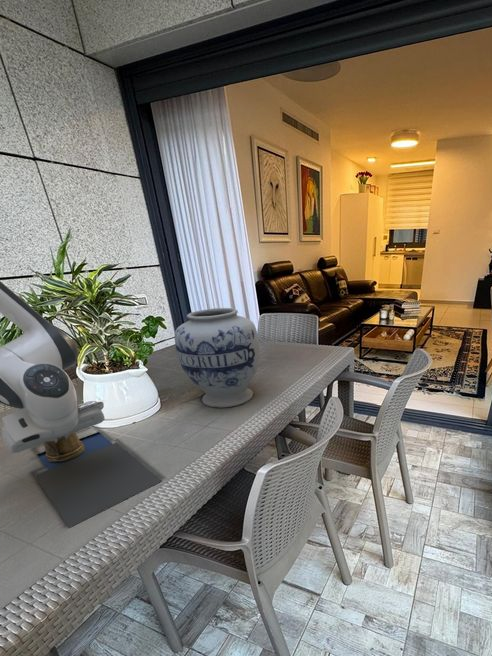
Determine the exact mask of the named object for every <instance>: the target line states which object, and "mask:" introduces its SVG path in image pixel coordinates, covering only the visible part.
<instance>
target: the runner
mask: <svg viewBox="0 0 492 656" xmlns="http://www.w3.org/2000/svg"><path fill="white" fill-rule="evenodd" d="M33 476H34V477H35V479H36V481H37V482H38V484H39V485H40V487H41V488H42V490H43V492H44V494H45V495H46V497H48V500H50V502H51V504H52V505H53V507H54V508H55V511H57V513H58V514H59V517H60V518H61V519H62V520H63V522H64V524H65V525H66V527H67V528H68V529H71V528H72V527H74V526H76V525H78V524H81V523H82V522H84V521H86V520H88V519H90V518H92V517H95V516H96V515H98V514H100V513H102V512H104V511H106V510H108V509H110V508H112V507H114V506H116V505H118V504H120V503H122V502H124V501H126V500H128V499H130V498H132V497H134V496H137V495H138V494H140V493H142V492H144V491H146V490H148V489H150V488H152V487H154V486H156V485H158V484H160V483H162V482H163V480H162V479H161V478H160V477H158V476H157V475H156V474H155V473H154V472H153V471H151V469H149V468H148V467H147V466H146V465H144V464H143V463H142V462H141V461H139V460H138V459H137V458H136V457H135V456H133V455H132V454H131V453H130V452H129V451H127V450H126V449H125V448H124V447H122V445H120V444H119V443H118V442H114V443H113V444H111V445H109V446H106V447H104V448H101V449H99V450H96V451H93V452H91V453H88V454H86V455H83V456H81V457H78V458H76V459H73V460H71V461H68V462H66V463H63V464H61V465H58V466H55V467H53V468H50V469H46V470H43V471H40V472H38V473H35V474H33Z"/></svg>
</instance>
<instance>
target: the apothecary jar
mask: <svg viewBox="0 0 492 656" xmlns="http://www.w3.org/2000/svg"><path fill="white" fill-rule="evenodd" d="M186 317H187V318H188V321H186V322H183V323H182V324H180V325H179V326H178V327H177V328H176V329H175V330H174V345H175V351H176V354H177V358H178V361H179V364H180V366H181V368H182V371H183V372H184V373H185V374H186V376H187V377H188V378H189V379H190V381H191V382H192V383H194V385H195V386H196V387H198V388H199V389H200V390H202V391H203V392H204V393H205V394H203V396H202V399H201V401H202V403H203V404H204V405H205V406H206V407H209V408H217V409H219V408H221V409H222V408H231V407H237V406H240V405H241V406H242V405H243V404H246V403H247V402H249V401H250V400H251V399H252V398H253V395H254V392H253V390H252V389H251V388H248V387H249V385H250V383H251V382H252V380H253V379H254V377H255V375H256V373H257V371H258V368H259V364H260V360H261V359H260V357H261V353H260V351H261V349H260V348H261V347H260V340H259V335H258V331H257V328H256V325H255V323H254V322H253V321H252V320H251V319H249V318H247V317H245V316H241V315H238V309H236V308H232V307H213V308H207V309H202V310H201V309H200V310H195V311H192V312H189V313H188V314H187V315H186Z"/></svg>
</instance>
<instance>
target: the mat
mask: <svg viewBox="0 0 492 656" xmlns="http://www.w3.org/2000/svg"><path fill="white" fill-rule="evenodd" d="M79 440H80V441H81V442H82V443H83V445H84V447H85V450H84V452H83V453H82V454H80V455H79V456H78V457H81V456H83V455H86V454H88V453H91V452H93V451H96V450H99V449H101V448H104V447H106V446H109V445H111V444H114V443H113V442H112V441H110V440H109V439H108V438H107V437H106V436H105V435H103V434H102V433H101V431H97V432H94V433H91V434H88V435H86V436H83V437H80V438H79ZM36 456H37V457H38V458H39V460H40V461H41V463H42V464H43V465H44V466H45V468H46V470H48V469H50V468H53V467H55V466H58V465H61V464H63V463H66V462H68V461H71V460H73V459H76V458H78V457H76V458H73V459H71V460H68V461H64V462H49V461H48V460H47V457H46V450H45V451H42V452H40V453H37V454H36Z"/></svg>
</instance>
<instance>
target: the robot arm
mask: <svg viewBox="0 0 492 656" xmlns="http://www.w3.org/2000/svg"><path fill="white" fill-rule="evenodd" d="M0 314H1V315H2V316H4V318H6V319H7V320H9V321H10V322H11V323H12V324H14V325H15V326H16V327H17V328H19V329H20V330H21V331H22V334H21V335H20V336H18V337H16V338H15V339H14V338H13V339H12V340H11V341H9V342H7V343H5V344H3V345H1V346H0V404H2V405H5V406H6V407H11V408H14V409H17V410H16V411H13V412H11V413H9V414H7V415H5V416H4V415H3V417H2V418H1V420H2V423H3V427H2V428H1V437H2V440H3V443H4V444H5V446H6V448H7V449H8V451H9V453H11V454H17V453H21V452H23V451H26V450H28V449H32V448H35V447H37V446H41V445H42V444H43V445H44V443H46V442H49V441H54V442H55V443H57V442H60V441H63V440H66V439H68V436H69V435H70V434H71V433H74V432H75V433H76V432H80V431H82V430H85V429H87V428H88V429H89V428H91V427H94V426H96V425H99V424H101V423H103V422H104V421H105V420H106V419H105V415H104V412H103V411H102V410H103V409H104V407H105V406H104V405H105V404H104V402H103V401H97V400H90V401H86V402H83V403H79V404H77V403H78V398H77V390H76V388H75V385H74V383H73V381H72V379H71V378H70V376H69V375H68V373H67V372H66V371H67V370H69V369H71V368H72V367H74V366H75V365H76V364H77V360H78V346H77V345H76V343H75V341H74V340H73V339H72V338H71V337H70V336H69V335H68V334H67V333H66V332H64V331H63V330H62V329H60V328H59V327H57V326H56V325H54V324H53V323H52V322H50V321H49V320H47V319H46V318H45V317H43V316H42V315H41V314H40V313H39V312H37V311H36V310H35V309H34V308H33V307H31V305H29V304H28V303H27V302H26V301H24V300H23V298H21V297H20V296H18V294H16V293H15V292H14V291H13V290H11V289H10V288H9V287H8V286H7V285H5V284H4V283H3V281H1V280H0Z"/></svg>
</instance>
